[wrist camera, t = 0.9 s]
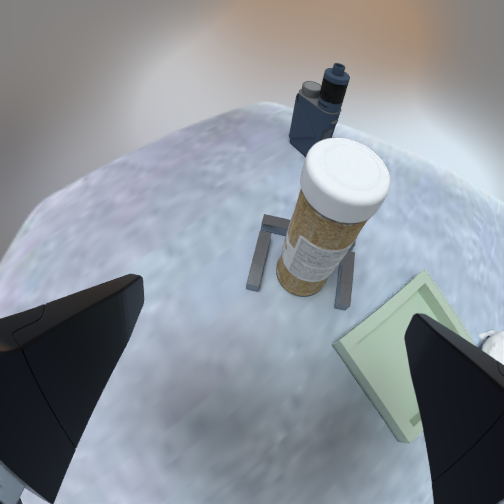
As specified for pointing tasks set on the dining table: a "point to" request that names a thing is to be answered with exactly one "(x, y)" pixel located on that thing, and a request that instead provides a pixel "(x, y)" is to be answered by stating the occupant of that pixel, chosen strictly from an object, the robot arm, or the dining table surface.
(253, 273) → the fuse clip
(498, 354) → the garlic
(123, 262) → the dining table surface
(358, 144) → the sprinkles bottle
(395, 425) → the tray
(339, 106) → the vaping device
